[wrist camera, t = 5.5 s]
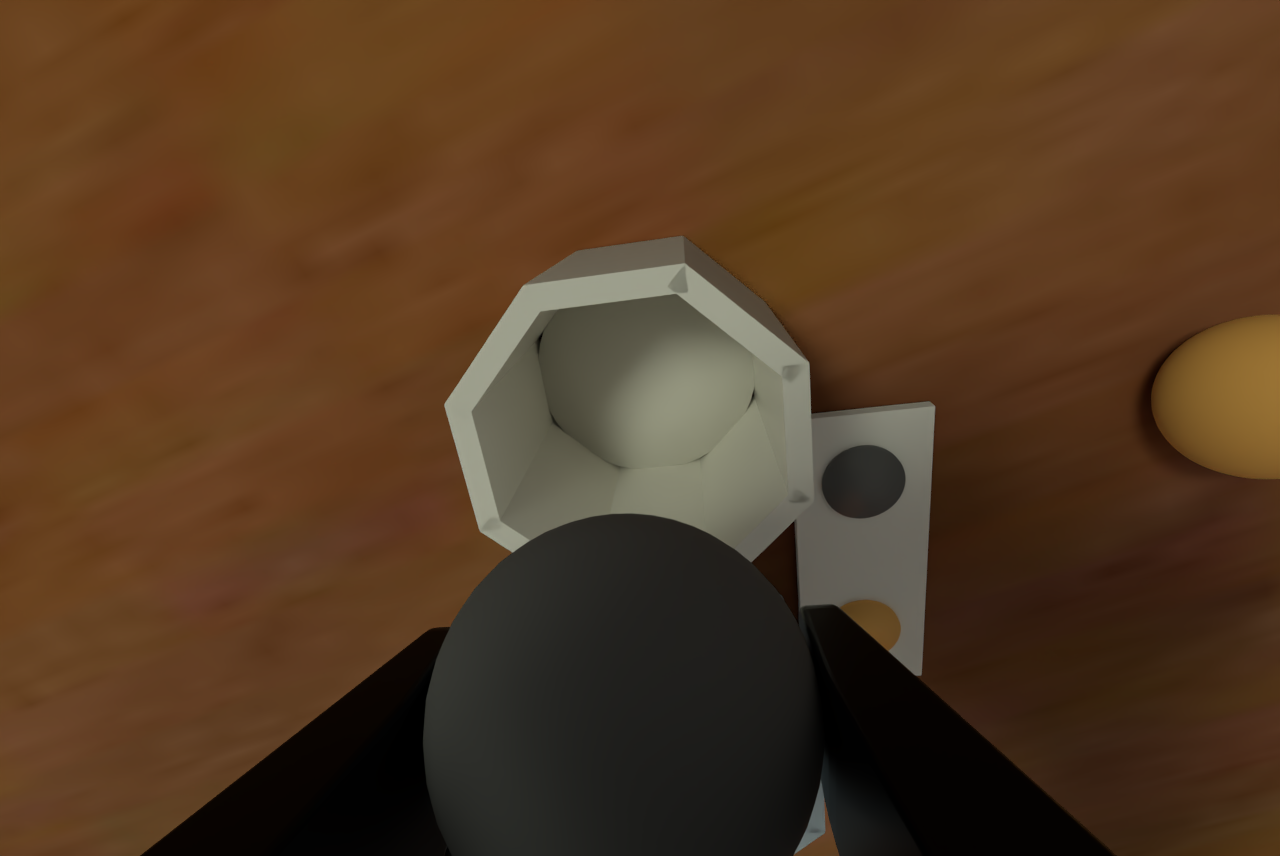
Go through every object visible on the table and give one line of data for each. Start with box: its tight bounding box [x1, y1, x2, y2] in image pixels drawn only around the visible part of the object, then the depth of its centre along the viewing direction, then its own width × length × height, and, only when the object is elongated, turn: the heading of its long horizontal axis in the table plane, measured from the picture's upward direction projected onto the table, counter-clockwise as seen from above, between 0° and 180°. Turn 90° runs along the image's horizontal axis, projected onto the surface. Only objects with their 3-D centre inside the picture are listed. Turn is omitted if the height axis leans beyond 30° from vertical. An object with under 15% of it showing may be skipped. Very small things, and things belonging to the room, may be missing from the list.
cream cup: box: [444, 236, 814, 562], centre depth 14 cm, size 7×7×6 cm
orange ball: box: [1151, 315, 1280, 479], centre depth 14 cm, size 4×4×4 cm
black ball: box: [423, 513, 825, 856], centre depth 6 cm, size 4×4×4 cm
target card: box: [794, 401, 935, 676], centre depth 19 cm, size 10×4×1 cm, turn 8°
